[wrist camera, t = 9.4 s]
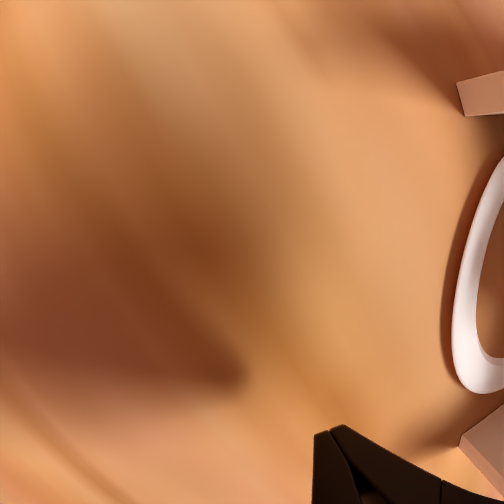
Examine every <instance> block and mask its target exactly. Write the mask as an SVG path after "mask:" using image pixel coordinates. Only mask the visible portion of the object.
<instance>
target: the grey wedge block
mask: <svg viewBox="0 0 504 504" xmlns="http://www.w3.org/2000/svg"><path fill="white" fill-rule="evenodd" d="M456 85H457V88H458V92H459V95H460V99H461V103H462V107H463V111H464V115H465V117H467V116H480V115H496V114H504V70H503V71H499V72H494V73H490V74H486V75H483V76H479V77H475V78H471V79H467V80H464V81H460V82H457V83H456ZM459 448H460V449H461V451H462V452H463V453H464V454H465V455H466V456H467V457H468V458H469V459H470V460H471V462H472V463H473V464H474V465H475V466H476V467H477V468H478V469H479V470H480V471H481V473H482V474H483V475H484V476H485V477H486V478H487V479H488V480H489V481H490V483H491V484H492V485H493V486H494V487H495V488H496V489H497V490H498V491H499V493H500V494H501V495H502V496H503V497H504V404H502V405H501V406H500V407H499V408H498V409H496V410H495V411H494V412H492V413H491V414H490V415H489V416H487V417H486V418H485V419H483V420H482V421H481V422H479V423H478V424H477V425H475V426H474V427H472V428H471V429H470V430H468V431H467V432H465V433H464V434H462V436H461V440H460V444H459Z"/></svg>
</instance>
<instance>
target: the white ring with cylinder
mask: <svg viewBox="0 0 504 504" xmlns="http://www.w3.org/2000/svg"><path fill="white" fill-rule="evenodd" d="M503 201H504V157H503V158H502V159H501V161H500V162H499V164H498V165H497V167H496V168H495V170H494V172H493V174H492V175H491V177H490V179H489V181H488V183H487V186H486V188H485V190H484V192H483V195H482V197H481V199H480V202H479V205H478V207H477V210H476V213H475V216H474V219H473V222H472V225H471V228H470V231H469V235H468V238H467V242H466V246H465V249H464V253H463V257H462V262H461V266H460V271H459V275H458V280H457V286H456V292H455V298H454V306H453V315H452V329H451V345H452V356H453V362H454V366H455V370H456V373H457V375H458V377H459V379H460V381H461V383H462V384H463V385H464V386H465V387H466V388H467V389H468V390H470V391H472V392H474V393H479V394H488V393H492V392H496V391H498V390H501V389H503V388H504V358H494V357H491V356H489V355H488V354H487V353H486V352H485V351H484V350H483V348H482V347H481V345H480V342H479V339H478V336H477V330H476V302H477V293H478V286H479V280H480V275H481V270H482V265H483V261H484V256H485V252H486V249H487V245H488V242H489V238H490V235H491V232H492V229H493V226H494V223H495V220H496V218H497V215H498V213H499V210H500V208H501V206H502V203H503Z"/></svg>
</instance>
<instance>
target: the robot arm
mask: <svg viewBox="0 0 504 504" xmlns="http://www.w3.org/2000/svg"><path fill="white" fill-rule="evenodd" d="M311 504H504V501H500V500H496V499H492V498H488V497H485V496H482V495H479V494H476V493H472V492H470V491H467V490H465V489H462V488H460V487H458V486H455V485H453V484H451V483H449V482H447V481H445V480H442V481H441V478H439V477H437V476H435V475H433V474H431V473H429V472H427V471H425V470H423V469H421V468H419V467H417V466H416V465H414V464H412V463H410V462H408V461H406V460H404V459H403V458H401V457H399V456H397V455H395V454H394V453H392V452H390V451H388V450H386V449H385V448H383V447H381V446H379V445H378V444H376V443H374V442H373V441H371V440H369V439H368V438H366V437H364V436H363V435H361V434H359V433H358V432H356V431H354V430H353V429H351V428H349V427H348V426H346V425H343V424H342V425H339V426H336V427H334V428H331V429H330V430H329V431H328V430H326V431H323V432H320V433H317V434H315V435H314V447H313V480H312V501H311Z"/></svg>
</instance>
